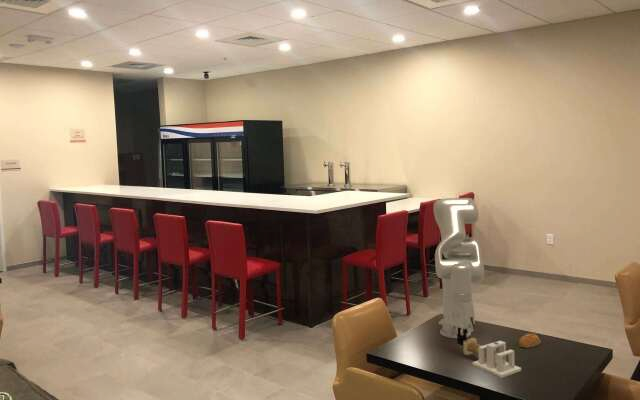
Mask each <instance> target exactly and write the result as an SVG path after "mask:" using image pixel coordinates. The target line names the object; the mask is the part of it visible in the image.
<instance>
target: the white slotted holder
mask: <svg viewBox="0 0 640 400" xmlns="http://www.w3.org/2000/svg"><path fill="white" fill-rule="evenodd" d="M486 348H487V358H485V354H484V349H486ZM497 348H498V349H497ZM497 350H498V352H499V353H498V354H496V362H497V363H496V362H494V351H497ZM503 356H505V357H506V359H505V362H504V363H503ZM507 356H508V359H507ZM515 358H516V357H515V350H513V349H508V350H507V342H505V341H502V340H498V341H495V342H490V343H487V344H484V345H481V346H480V347H479V355H478V360H476V361H472V362H471V364H472V366H474V367H476V368H478V369H481V370H483V371H484V372H487V373H489V374H492V375H494V376H496V377H498V378H501V379H503V378H505V377H509V376H511V375H514V374H516V373H519V372H521V371H522V367H521V366H520V367H519V366H518V365H515V362H516V361H515ZM507 360H508V361H507Z"/></svg>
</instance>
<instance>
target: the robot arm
mask: <svg viewBox="0 0 640 400" xmlns="http://www.w3.org/2000/svg"><path fill="white" fill-rule="evenodd" d="M433 215H434V219H435V222H436V224H437V226H438V228H439V232H440V238H441V239H440V240H441V241H440V242H439V244H438V245H437V247H436V249H435V253H434V263H435V272H436V276H437V277H438V278H439V279H441V282H442V293H443V295H442V297H443V298H442V300H443V303H442V304H443V305H442V307H443V318H441V319H440V320H439V321H438V325H441V329H440V330H439V333H440V335H441V336H443V337H445V338H449V339H456V340H457V343H456V344H457V345H460V346H463V341H464V340H467V338H469V337H470V336H472V333H473V332H474V327H475V323H476V322H475V321H476V320H475V316H476V315H475V308H474V303H473V301H472V283H473V284H476V283H481V282H483V281H484V279H485V266H484V260H483V253H482V252H483V251H482V247H481V243H480V241H479V239H478V238H476V237H473V236H472V237H470V236H467V234H466V227H465V225H466V224H468V225H470V224H477V222H478V221H479V218H480V217H479V215H480V214H479V209H478V206H477V204H476V202H475V201H474V199H473V198H471V197H451V198H450V197H448V198H447V197H445V198H440V199H437V200H436V201H434V203H433ZM466 236H467V237H466ZM443 257H444V258H445V259H443Z"/></svg>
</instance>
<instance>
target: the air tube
mask: <svg viewBox="0 0 640 400" xmlns="http://www.w3.org/2000/svg"><path fill="white" fill-rule="evenodd" d="M462 346H463V355H466V356H469V355H471V354H475V355H477V356H479V347H480V346H482V345H481V344H479V343H478V342H477V338H475V337H471V338H468V339H467V340H464V341H463V345H462ZM498 353H499V351H497V350H496V351H494V362H496V354H498ZM484 354H485V358H487V348H486V349H484ZM505 359H506V360H507V356H506V357H505V356H503V363H504V362H505ZM496 363H497V362H496Z"/></svg>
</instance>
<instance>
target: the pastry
mask: <svg viewBox="0 0 640 400" xmlns="http://www.w3.org/2000/svg"><path fill="white" fill-rule="evenodd" d="M541 343H542V342H541V340H540V338H539V336H538V335H537V334H535V333H533V332H531V333H527V334H525V335H522V336H521V337H520V338H519V340H518V347H521V348H526V349H531V348H535V347H537V346H539V345H540V344H541Z"/></svg>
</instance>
